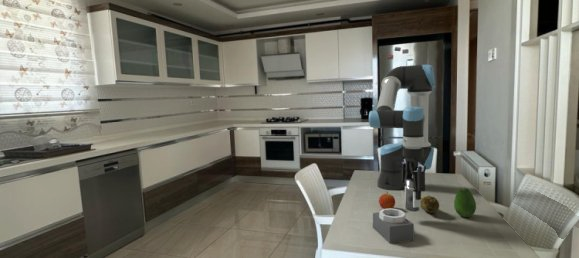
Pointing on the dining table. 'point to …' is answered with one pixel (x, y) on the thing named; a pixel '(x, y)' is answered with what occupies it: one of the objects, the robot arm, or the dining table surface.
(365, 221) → the dining table surface
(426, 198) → the potato
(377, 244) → the dining table surface
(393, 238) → the grey block
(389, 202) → the fruit
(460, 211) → the fruit
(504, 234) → the dining table surface
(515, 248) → the dining table surface
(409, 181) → the lens
